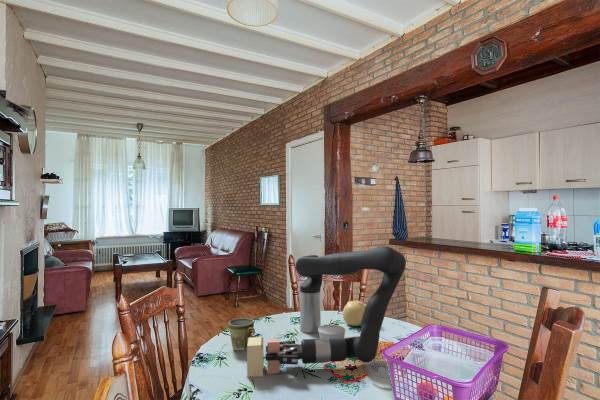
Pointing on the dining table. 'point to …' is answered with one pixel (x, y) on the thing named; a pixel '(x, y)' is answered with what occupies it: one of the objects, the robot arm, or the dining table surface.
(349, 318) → the round fruit
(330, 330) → the ramekin
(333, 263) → the robot arm
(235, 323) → the ceramic cup
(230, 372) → the dining table surface
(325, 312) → the dining table surface
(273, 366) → the stub
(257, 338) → the block
